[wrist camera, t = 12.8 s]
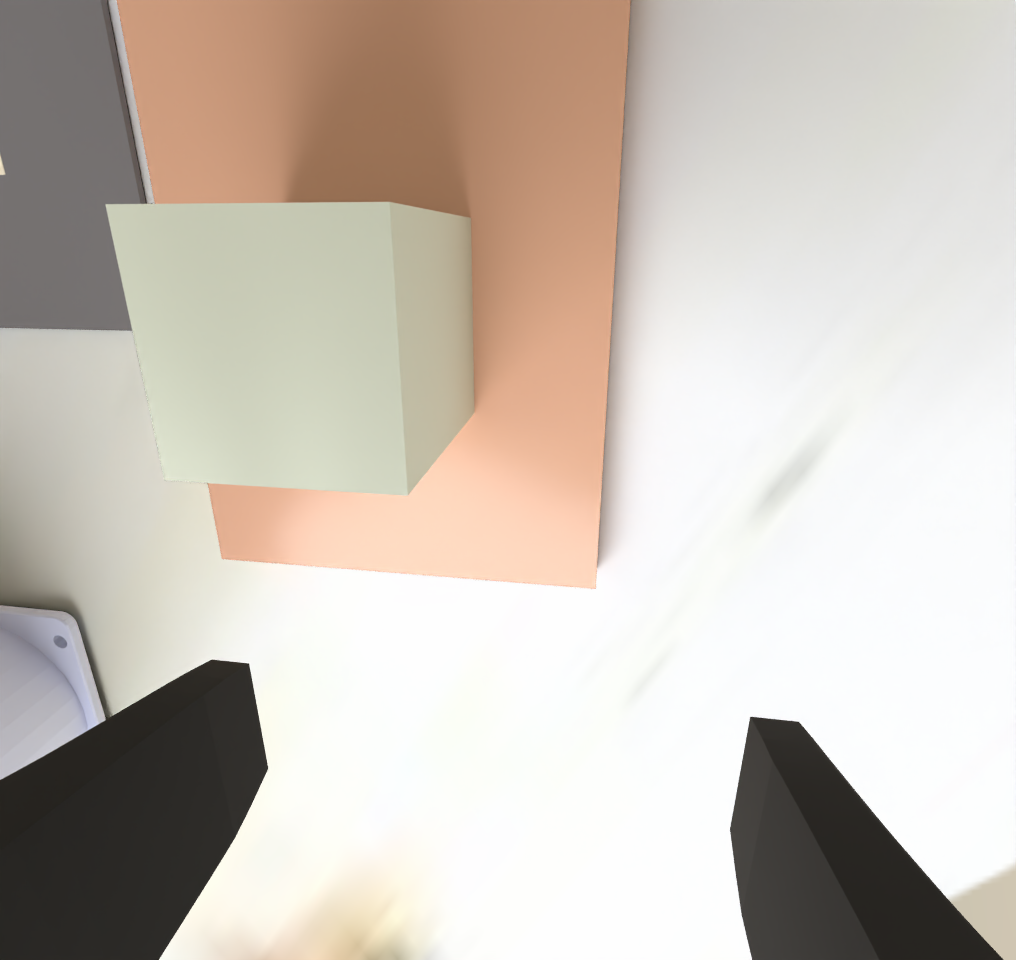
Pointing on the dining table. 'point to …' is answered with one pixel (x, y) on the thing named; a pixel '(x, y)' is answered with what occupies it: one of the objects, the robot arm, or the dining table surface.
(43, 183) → the mat
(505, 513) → the plate
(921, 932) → the robot arm
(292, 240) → the sage block
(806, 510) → the dining table surface
